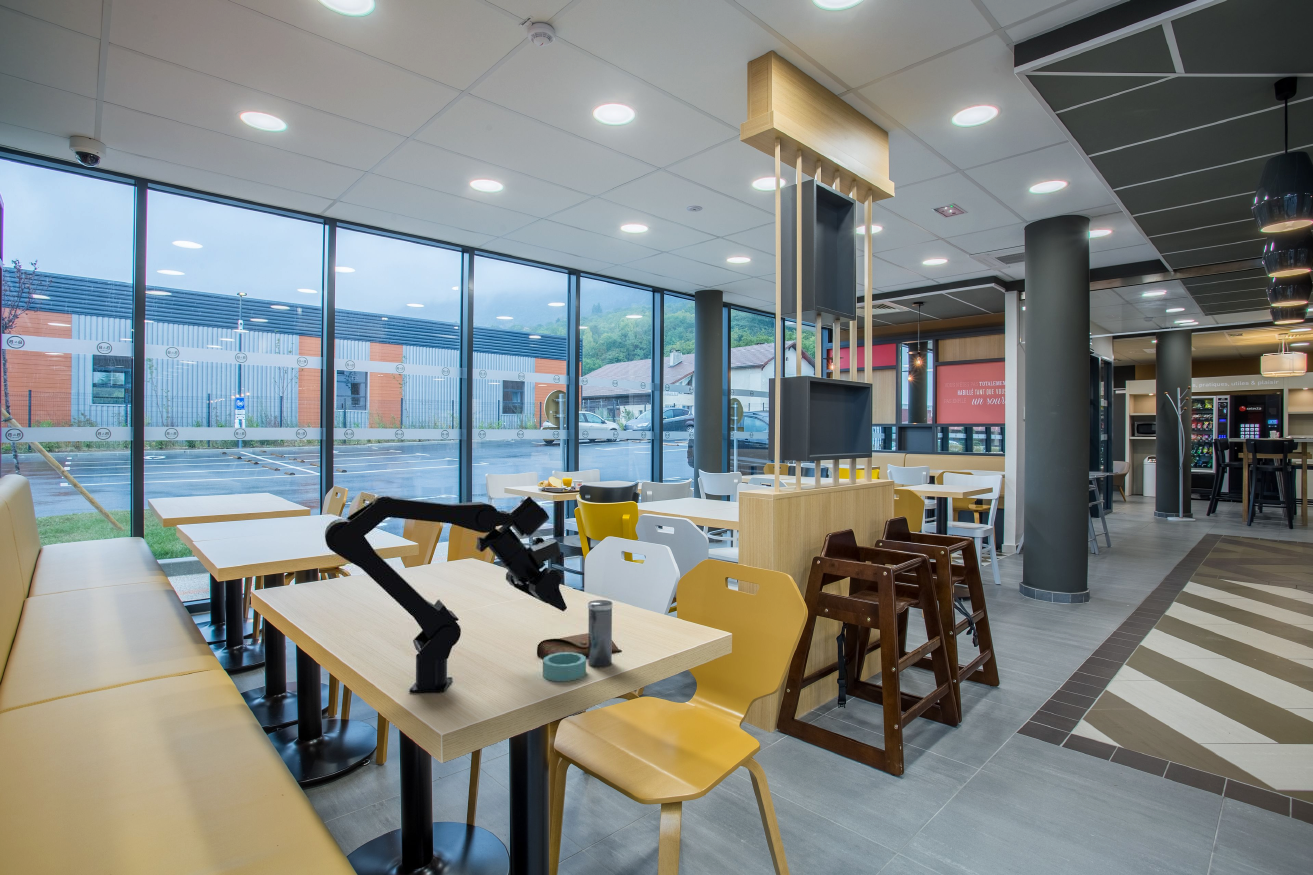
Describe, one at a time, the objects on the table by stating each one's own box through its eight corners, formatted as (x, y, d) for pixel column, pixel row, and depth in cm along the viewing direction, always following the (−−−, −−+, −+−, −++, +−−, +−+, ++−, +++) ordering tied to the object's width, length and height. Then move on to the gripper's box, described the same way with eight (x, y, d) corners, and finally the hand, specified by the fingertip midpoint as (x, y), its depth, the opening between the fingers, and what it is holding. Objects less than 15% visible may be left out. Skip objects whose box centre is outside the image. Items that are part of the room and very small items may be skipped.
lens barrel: (611, 667, 134) (612, 605, 134) (587, 667, 133) (587, 605, 134) (612, 659, 139) (612, 599, 139) (588, 659, 138) (588, 599, 139)
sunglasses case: (553, 666, 134) (546, 634, 137) (540, 674, 139) (534, 644, 142) (624, 650, 145) (617, 622, 147) (611, 659, 149) (603, 631, 152)
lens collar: (584, 680, 126) (584, 665, 126) (540, 681, 125) (540, 666, 125) (586, 666, 134) (586, 651, 134) (546, 666, 134) (546, 652, 134)
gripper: (557, 529, 126) (602, 585, 131) (524, 522, 142) (565, 572, 146) (515, 568, 121) (563, 625, 126) (486, 557, 137) (530, 608, 142)
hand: (556, 605), depth 135 cm, fingers open, 9 cm apart
